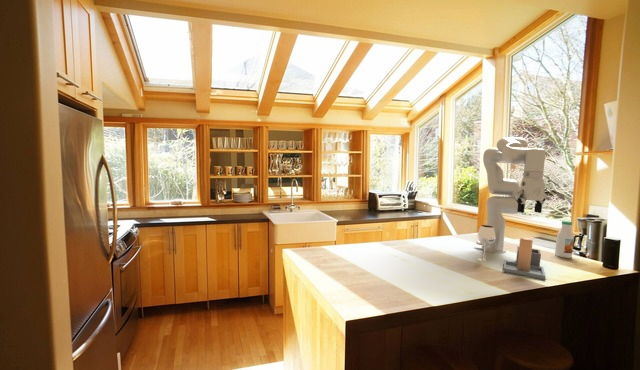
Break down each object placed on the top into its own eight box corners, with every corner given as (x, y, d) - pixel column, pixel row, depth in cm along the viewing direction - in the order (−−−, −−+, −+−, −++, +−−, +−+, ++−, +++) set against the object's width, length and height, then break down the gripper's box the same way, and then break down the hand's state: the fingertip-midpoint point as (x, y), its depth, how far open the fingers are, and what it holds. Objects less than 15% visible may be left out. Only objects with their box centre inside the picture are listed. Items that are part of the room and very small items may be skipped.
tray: (503, 272, 150) (503, 267, 150) (504, 264, 162) (504, 260, 162) (545, 280, 142) (545, 275, 142) (542, 271, 154) (543, 267, 154)
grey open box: (516, 265, 161) (517, 250, 161) (516, 260, 170) (517, 246, 169) (539, 269, 156) (540, 254, 156) (538, 264, 165) (539, 249, 164)
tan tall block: (517, 270, 151) (520, 239, 150) (517, 267, 155) (520, 237, 154) (529, 273, 149) (533, 241, 147) (529, 270, 153) (532, 238, 152)
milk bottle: (557, 257, 180) (560, 221, 178) (552, 253, 187) (556, 219, 185) (573, 259, 177) (578, 223, 175) (569, 255, 184) (573, 220, 182)
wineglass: (492, 259, 169) (495, 226, 167) (493, 264, 161) (496, 228, 160) (475, 257, 172) (478, 223, 171) (475, 261, 165) (478, 226, 163)
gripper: (524, 175, 142) (520, 213, 144) (555, 176, 147) (551, 213, 148) (510, 174, 150) (507, 210, 151) (540, 175, 154) (537, 211, 155)
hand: (529, 212), depth 150 cm, fingers open, 9 cm apart
